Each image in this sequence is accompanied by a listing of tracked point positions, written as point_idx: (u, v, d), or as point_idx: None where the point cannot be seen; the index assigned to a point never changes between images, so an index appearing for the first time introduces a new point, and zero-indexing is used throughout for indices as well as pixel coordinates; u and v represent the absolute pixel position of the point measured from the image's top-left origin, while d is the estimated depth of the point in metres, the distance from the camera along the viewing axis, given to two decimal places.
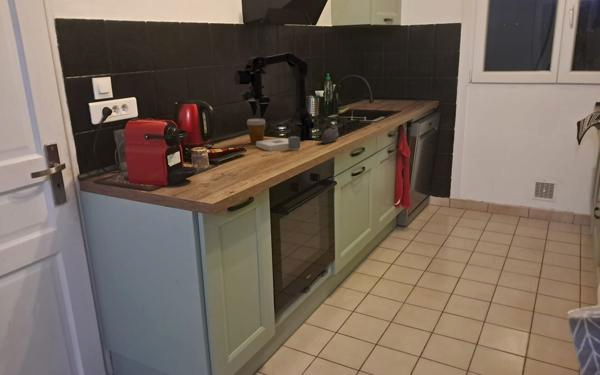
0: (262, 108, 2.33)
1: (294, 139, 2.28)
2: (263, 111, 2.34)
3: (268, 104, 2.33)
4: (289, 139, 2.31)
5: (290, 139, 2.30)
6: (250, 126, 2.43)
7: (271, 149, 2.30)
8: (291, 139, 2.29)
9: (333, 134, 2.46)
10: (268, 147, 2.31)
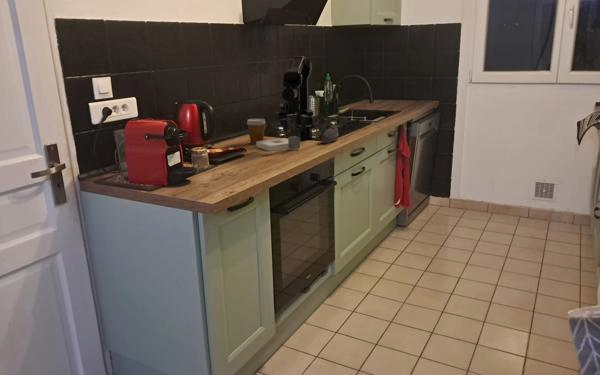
0: (283, 123, 2.26)
1: (294, 139, 2.28)
2: (284, 127, 2.26)
3: (283, 121, 2.22)
4: (289, 139, 2.31)
5: (290, 139, 2.30)
6: (250, 126, 2.43)
7: (271, 149, 2.30)
8: (291, 139, 2.29)
9: (333, 134, 2.46)
10: (268, 147, 2.31)
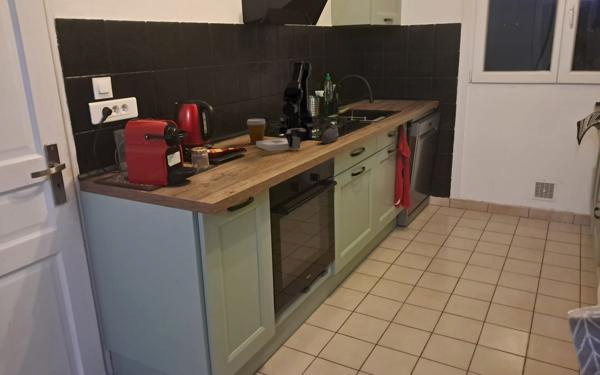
0: (287, 137, 2.29)
1: (294, 139, 2.28)
2: (289, 141, 2.29)
3: (288, 135, 2.25)
4: None
5: None
6: (250, 126, 2.43)
7: (271, 149, 2.30)
8: None
9: (333, 134, 2.46)
10: (268, 147, 2.31)
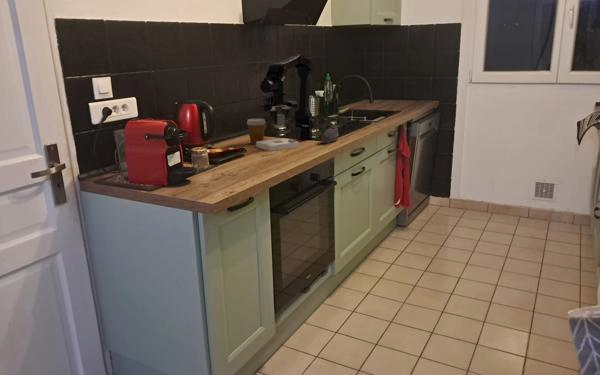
0: (272, 114, 2.32)
1: (279, 116, 2.32)
2: (273, 118, 2.32)
3: (273, 112, 2.29)
4: None
5: None
6: (250, 126, 2.43)
7: (271, 149, 2.30)
8: None
9: (333, 134, 2.46)
10: (268, 147, 2.31)
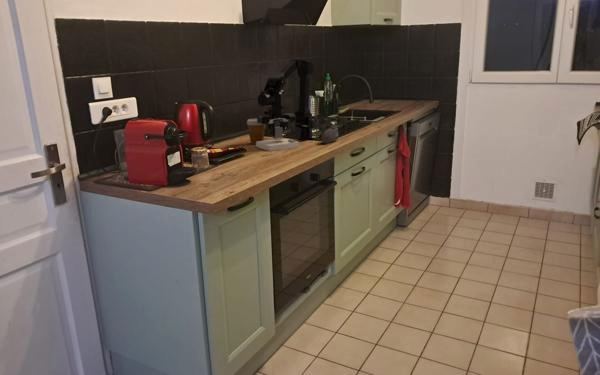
0: (270, 127, 2.35)
1: (277, 129, 2.35)
2: (271, 131, 2.35)
3: (271, 125, 2.32)
4: None
5: None
6: (250, 126, 2.43)
7: (271, 149, 2.30)
8: None
9: (333, 134, 2.46)
10: (268, 147, 2.31)
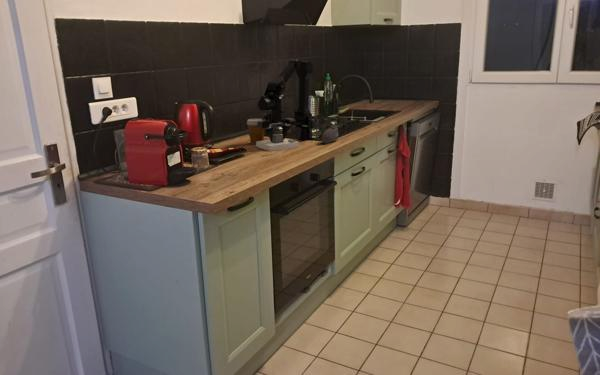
0: (268, 132, 2.35)
1: (277, 136, 2.36)
2: (269, 135, 2.35)
3: (269, 129, 2.32)
4: None
5: (273, 136, 2.37)
6: (250, 126, 2.43)
7: (271, 149, 2.30)
8: (274, 136, 2.36)
9: (333, 134, 2.46)
10: (268, 147, 2.31)
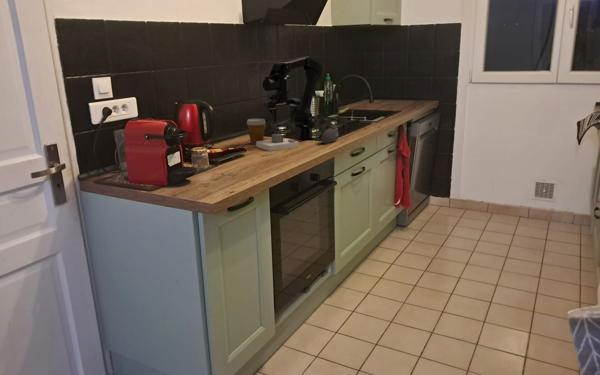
0: (272, 112, 2.39)
1: (277, 136, 2.36)
2: (273, 116, 2.39)
3: (273, 110, 2.35)
4: (272, 136, 2.38)
5: (273, 136, 2.37)
6: (250, 126, 2.43)
7: (271, 149, 2.30)
8: (274, 136, 2.36)
9: (333, 134, 2.46)
10: (268, 147, 2.31)
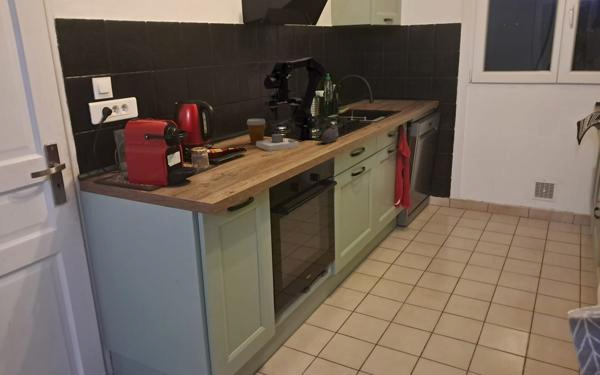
0: (273, 111, 2.40)
1: (277, 136, 2.36)
2: (274, 114, 2.40)
3: (274, 108, 2.36)
4: (272, 136, 2.38)
5: (273, 136, 2.37)
6: (250, 126, 2.43)
7: (271, 149, 2.30)
8: (274, 136, 2.36)
9: (333, 134, 2.46)
10: (268, 147, 2.31)
